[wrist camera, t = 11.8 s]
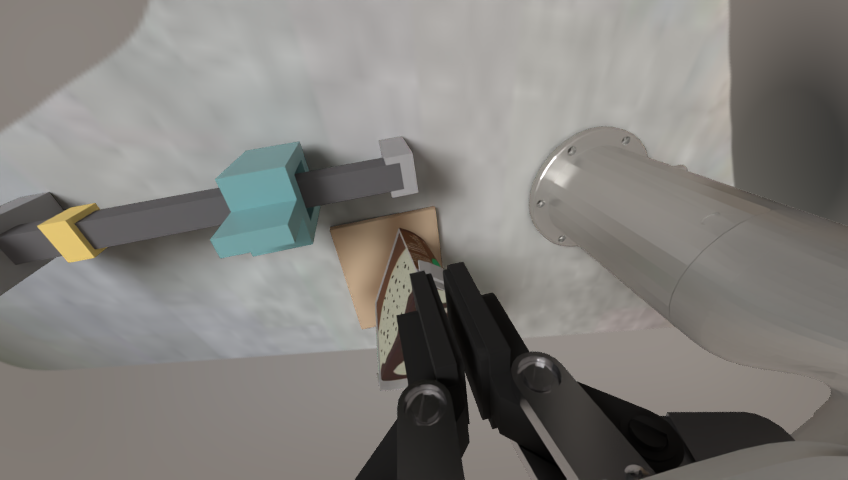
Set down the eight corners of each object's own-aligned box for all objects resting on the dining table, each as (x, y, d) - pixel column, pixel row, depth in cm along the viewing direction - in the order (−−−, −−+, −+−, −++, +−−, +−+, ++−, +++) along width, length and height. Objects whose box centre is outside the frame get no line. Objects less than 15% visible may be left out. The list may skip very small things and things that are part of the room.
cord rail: (400, 130, 27) (418, 155, 20) (408, 175, 29) (425, 212, 22) (20, 197, 24) (-112, 253, 17) (58, 242, 26) (-45, 308, 19)
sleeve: (299, 141, 25) (272, 187, 16) (320, 206, 27) (306, 273, 19) (245, 150, 24) (189, 202, 16) (272, 215, 27) (237, 288, 19)
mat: (434, 206, 31) (435, 208, 30) (446, 305, 38) (447, 309, 37) (330, 227, 30) (329, 230, 29) (361, 325, 37) (361, 329, 36)
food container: (423, 318, 37) (445, 397, 29) (371, 313, 35) (378, 395, 27) (461, 226, 32) (501, 288, 24) (403, 213, 30) (423, 276, 22)
